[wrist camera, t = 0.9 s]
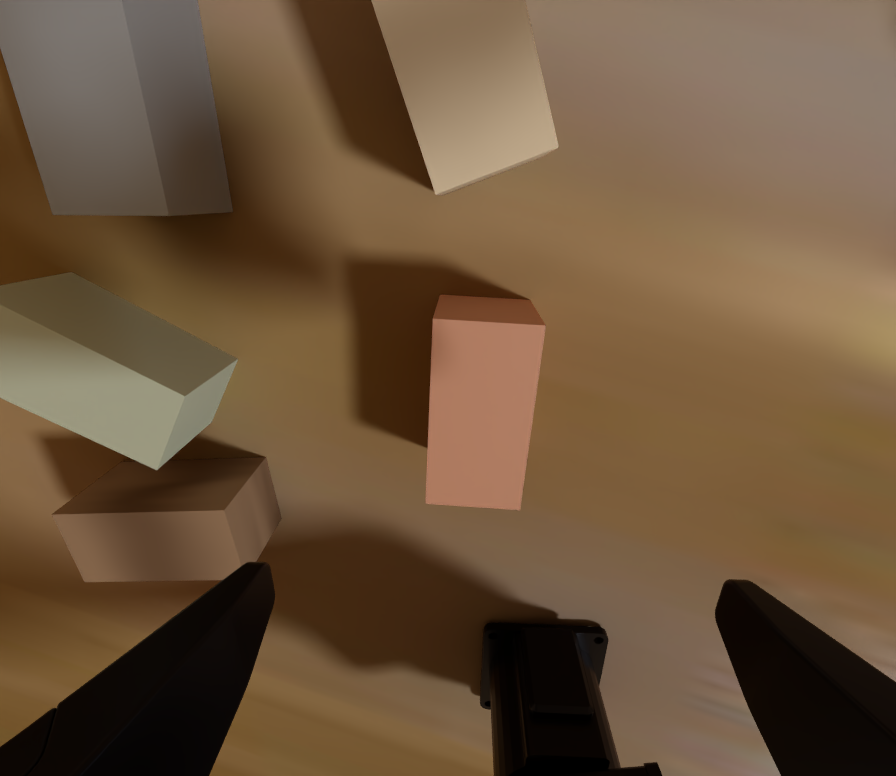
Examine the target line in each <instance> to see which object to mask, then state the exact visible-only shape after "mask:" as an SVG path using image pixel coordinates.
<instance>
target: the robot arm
mask: <svg viewBox="0 0 896 776" xmlns="http://www.w3.org/2000/svg"><path fill="white" fill-rule="evenodd" d="M274 600H275V590H274V585H273V580H272V574H271V569H270V566H269V564H268V563H266V562H247V563H245V564H243V565H242V566H241V567H239V568H238V569H237V570H235V571H234V572H233V573H231V574H230V575H229V576H227V577H226V578H225V579H223V580H222V581H221V582H219V583H218V584H217V585H215V586H214V587H213V588H211V589H210V590H209V591H207V592H206V593H205V594H203V595H202V596H201V597H199V598H198V599H197V600H196V601H194V602H193V603H192V604H190V605H189V606H188V607H186V608H185V609H184V610H182V611H181V612H180V613H178V614H177V615H176V616H174V617H173V618H172V619H170V620H169V621H168V622H166V623H165V624H164V625H162V626H161V627H160V628H158V629H157V630H156V631H154V632H153V633H152V634H150V635H149V636H148V637H146V638H145V639H144V640H142V641H141V642H140V643H138V644H137V645H136V646H134V647H133V648H132V649H131V650H129V651H128V652H127V653H125V654H124V655H123V656H121V657H120V658H119V659H117V660H116V661H115V662H113V663H112V664H111V665H109V666H108V667H107V668H105V669H104V670H103V671H101V672H100V673H99V674H97V675H96V676H95V677H93V678H92V679H91V680H89V681H88V682H87V683H85V684H84V685H83V686H81V687H80V688H79V689H77V690H76V691H75V692H73V693H72V694H71V695H69V696H68V697H67V698H66V699H64V700H63V701H62V702H60V703H59V704H58V706H57V709H56V708H52V709H51V710H49V711H48V712H47V713H45V714H44V715H43V716H41V717H40V718H39V719H37V720H36V721H35V722H33V723H32V724H31V725H29V726H28V727H27V728H25V729H24V730H23V731H21V732H20V733H19V734H17V735H16V736H15V737H13V738H12V739H10V740H9V741H8V742H6V743H5V744H4V745H2V746H1V747H0V776H209V775H210V772H211V770H212V768H213V765H214V763H215V761H216V758H217V756H218V754H219V751H220V749H221V747H222V744H223V742H224V740H225V737H226V735H227V733H228V730H229V728H230V726H231V723H232V721H233V719H234V716H235V714H236V712H237V709H238V707H239V705H240V702H241V700H242V698H243V695H244V693H245V690H246V688H247V685H248V682H249V680H250V677H251V674H252V671H253V668H254V665H255V661H256V658H257V655H258V652H259V649H260V646H261V643H262V639H263V636H264V633H265V630H266V627H267V624H268V621H269V617H270V614H271V611H272V608H273V605H274ZM715 618H716V623H717V626H718V628H719V631H720V634H721V636H722V639H723V642H724V644H725V647H726V650H727V652H728V655H729V658H730V660H731V663H732V666H733V668H734V671H735V674H736V676H737V679H738V682H739V684H740V687H741V690H742V692H743V695H744V697H745V700H746V702H747V705H748V707H749V709H750V712H751V714H752V716H753V718H754V720H755V722H756V725H757V727H758V729H759V731H760V733H761V735H762V737H763V739H764V741H765V743H766V745H767V747H768V749H769V751H770V754H771V756H772V758H773V760H774V762H775V764H776V766H777V768H778V770H779V772H780V774H781V776H896V682H895V681H894V680H892V679H891V678H889V677H888V676H886V675H885V674H884V673H882V672H881V671H879V670H878V669H876V668H875V667H873V666H872V665H871V664H869V663H868V662H866V661H865V660H863V659H862V658H861V657H859V656H858V655H856V654H855V653H853V652H852V651H851V650H849V649H848V648H846V647H845V646H843V645H842V644H840V643H839V642H838V641H836V640H835V639H833V638H832V637H830V636H829V635H828V634H826V633H825V632H823V631H822V630H820V629H819V628H818V627H816V626H815V625H813V624H812V623H810V622H809V621H807V620H806V619H805V618H803V617H802V616H800V615H799V614H797V613H796V612H795V611H793V610H792V609H790V608H789V607H787V606H786V605H785V604H783V603H782V602H780V601H779V600H777V599H776V598H774V597H773V596H772V595H770V594H769V593H767V592H766V591H764V590H763V589H762V588H760V587H759V586H757V585H756V584H754V583H753V582H751V581H748V580H734V579H729V580H727V581H725V582H724V584H723V587H722V590H721V593H720V596H719V599H718V602H717V606H716V609H715ZM607 645H608V636H607V633H606V631H605V630H604V629H603V628H601V627H586V626H561V625H536V624H510V623H489V624H487V625H486V626H485V627H484V630H483V649H482V668H481V688H480V705H481V706H482V707H483V708H485V709H491V723H492V745H493V767H494V776H662V774H661V771H660V769H659V766H658V764H657V762H653V763H644V766H638V767H626V768H621V767H620V763H619V759H618V756H617V752H616V748H615V744H614V741H613V737H612V733H611V730H610V726H609V722H608V718H607V715H606V711H605V707H604V704H603V700H602V696H601V692H600V689H599V684H600V679H601V674H602V669H603V664H604V659H605V654H606V650H607Z"/></svg>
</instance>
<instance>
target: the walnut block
mask: <svg viewBox="0 0 896 776" xmlns="http://www.w3.org/2000/svg"><path fill="white" fill-rule="evenodd" d="M52 517H53V519H54V521H55V523H56V525H57V527H58V529H59V531H60V533H61V535H62V537H63V539H64V541H65V543H66V545H67V547H68V549H69V551H70V553H71V555H72V557H73V560H74V562H75V564H76V566H77V568H78V570H79V572H80V574H81V576H82V578H83V580H84V582H129V581H197V580H223V579H225V578H226V577H227V576H229V575H230V574H231V573H233V572H234V571H235V570H237V569H238V568H239V567H241V566H242V565H243V564H245V563H247V562H256V561H257V560H258V558H259V556H260V554H261V553H262V551H263V549H264V548H265V546H266V544H267V542H268V541H269V539H270V537H271V536H272V534H273V532H274V530H275V529H276V527H277V525H278V524H279V522H280V520H281V519H282V518H281V515H280V511H279V507H278V503H277V499H276V495H275V491H274V487H273V483H272V479H271V475H270V471H269V467H268V463H267V459H266V457H254V458H223V459H192V460H168V461H167V462H166V463H165V464H163V465H162V466H161V467H160V468H159V469H158V470H155V469H153V468H151V467H149V466H146V465H144V464H142V463H140V462H138V461H131V462H120V463H119V464H118V465H116V466H115V467H114V468H112V469H111V470H110V471H108V472H107V473H106V474H104V475H103V476H102V477H101V478H99V479H98V480H97V481H95V482H94V483H93V484H91V485H90V486H89V487H87V488H86V489H85V490H83V491H82V492H81V493H79V494H78V495H77V496H75V497H74V498H73V499H71V500H70V501H69V502H67V503H66V504H65V505H63V506H62V507H61V508H59V509H58V510H57V511H56V512H54V513H53V514H52Z"/></svg>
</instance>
